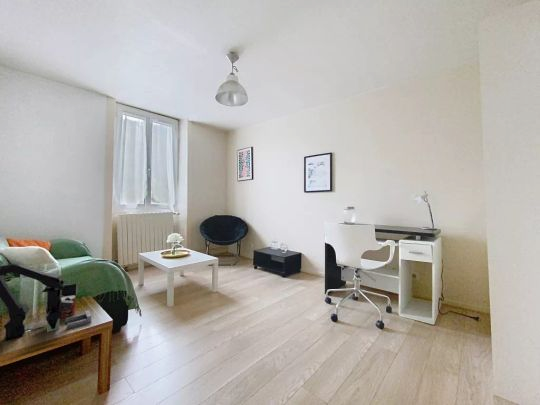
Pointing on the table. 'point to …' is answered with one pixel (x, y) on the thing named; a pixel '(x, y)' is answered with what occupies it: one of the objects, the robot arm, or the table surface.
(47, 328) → the chute block
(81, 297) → the table surface
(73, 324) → the side mount
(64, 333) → the table surface
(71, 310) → the canned food
